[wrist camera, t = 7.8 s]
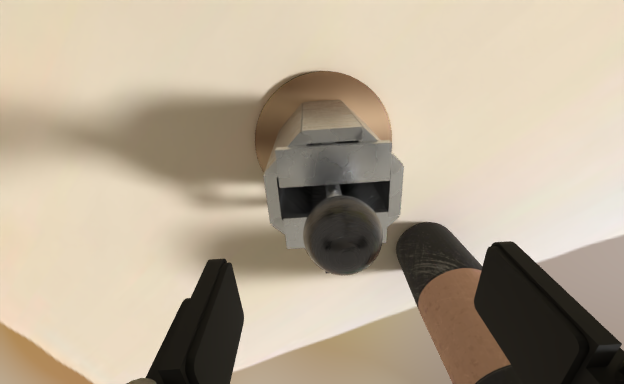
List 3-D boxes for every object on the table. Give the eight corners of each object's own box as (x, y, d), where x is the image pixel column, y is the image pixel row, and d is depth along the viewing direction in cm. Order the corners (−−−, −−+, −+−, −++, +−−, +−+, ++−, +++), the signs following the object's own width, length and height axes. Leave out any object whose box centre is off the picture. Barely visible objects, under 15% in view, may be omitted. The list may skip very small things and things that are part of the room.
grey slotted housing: (276, 103, 28) (255, 136, 16) (367, 97, 28) (410, 125, 16) (287, 209, 33) (278, 290, 21) (365, 204, 33) (397, 283, 21)
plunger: (290, 124, 25) (272, 204, 12) (358, 119, 25) (421, 194, 12) (296, 186, 28) (287, 312, 14) (357, 182, 28) (409, 304, 14)
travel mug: (396, 275, 38) (480, 475, 20) (390, 227, 35) (483, 412, 17) (455, 264, 37) (597, 459, 19) (454, 214, 34) (623, 391, 16)
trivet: (246, 76, 27) (244, 76, 27) (394, 66, 27) (395, 66, 27) (265, 206, 33) (264, 209, 33) (386, 199, 33) (388, 201, 33)
